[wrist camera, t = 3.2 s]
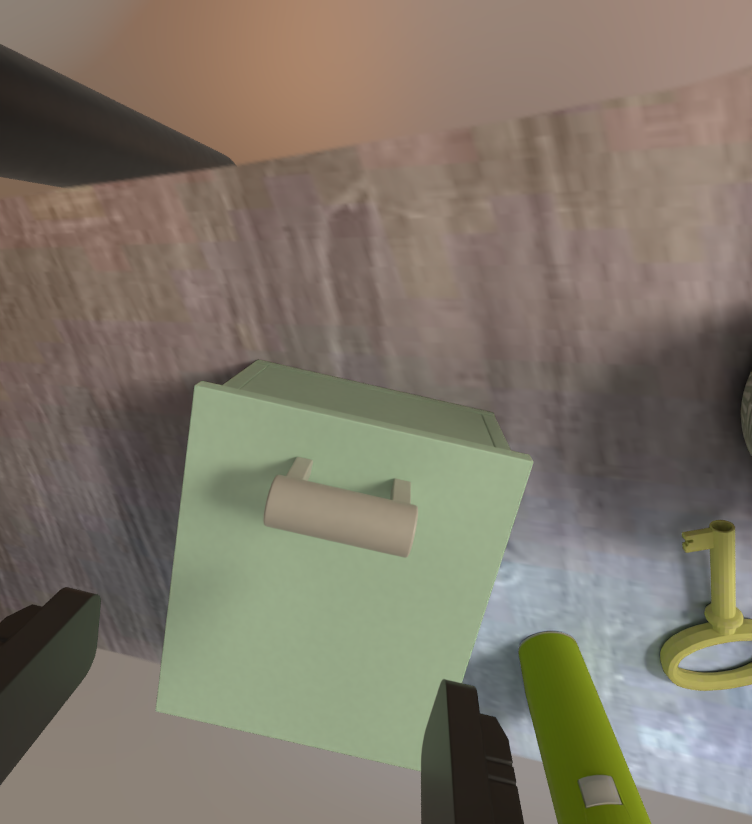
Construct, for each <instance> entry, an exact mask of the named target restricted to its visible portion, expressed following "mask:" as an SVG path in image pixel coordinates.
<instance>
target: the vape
mask: <svg viewBox="0 0 752 824" xmlns="http://www.w3.org/2000/svg"><path fill="white" fill-rule="evenodd" d="M518 654H519V660H520V665H521V671H522V677H523V682H524V688H525V694H526V698H527V702H528V706H529V710H530V714H531V718H532V722H533V726H534V730H535V734H536V738H537V742H538V746H539V750H540V754H541V758H542V762H543V766H544V770H545V774H546V778H547V781H548V786H549V789H550V794H551V798H552V802H553V806H554V810H555V813H556V818H557V822H558V824H651V822H650V819H649V817H648V814H647V812H646V810H645V807H644V805H643V802H642V800H641V798H640V795H639V793H638V790H637V788H636V785H635V783H634V781H633V778H632V776H631V773H630V771H629V768H628V766H627V764H626V761H625V759H624V756H623V754H622V751H621V749H620V747H619V744H618V742H617V739H616V737H615V734H614V732H613V730H612V727H611V725H610V722H609V720H608V718H607V715H606V713H605V710H604V708H603V705H602V703H601V701H600V698H599V696H598V693H597V691H596V688H595V686H594V684H593V681H592V679H591V676H590V674H589V672H588V669H587V667H586V664H585V662H584V659H583V657H582V655H581V652H580V650H579V647H578V645H577V643H576V641H575V639H574V638H573V637H571V636H570V635H568V634H565V633H562V632H556V631H547V632H541V633H537V634H534V635H532V636H530V637H528V638H526V639H525V640H524V641H523V642H522V643H521V644H520V646H519V649H518Z"/></svg>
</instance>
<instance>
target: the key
mask: <svg viewBox="0 0 752 824" xmlns="http://www.w3.org/2000/svg"><path fill="white" fill-rule="evenodd" d="M682 537H683V538H684V539H685V542H682V546H683V550H684V551H685V552H686V553H688V552H694V551H700V550H706V549H710V567H711V604H709V605H708V606H707V607H706V608H705V612H704V614H705V617H706V619H707V621H708V623H704V624H700V625H696V626H693V627H690V628H687V629H685V630H682V631H681V632H679V633H677V634H676V635H674V636H672V637H671V638H670V639H668V640H667V641H666V642H665V644H664V645H663V647H662V649H661V652H660V660H661V664H662V668H663V671H664V673H665V674H666V675H667V677H668V678H669V679H670V680H671V681H672V682H673V683H674V684H676V685H677V686H680V687H683V688H687V689H691V690H700V691H708V690H723V689H731V688H736V687H742V686H746V685H751V684H752V662H751V663H749V664H747V665H745V666H743V667H740V668H737V669H733V670H729V671H723V672H714V673H703V672H694V671H689V670H685V669H682V668H679V667H678V664H679V663H680V661H681V660H682V659H683V658H684V657H686V656H687V655H689V654H691V653H693V652H695V651H697V650H700V649H703V648H705V647H709V646H713V645H717V644H722V643H727V642H735V641H751V640H752V619H743V615H742V613H741V611H740V610H739V609H738V608H737V607H736V603H735V526H734V524H732V523H731V522H728V521H725V520H716V521H712V522H711V523H710V525H709V528H704V529H699V530H693V531H687V532H682Z"/></svg>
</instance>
